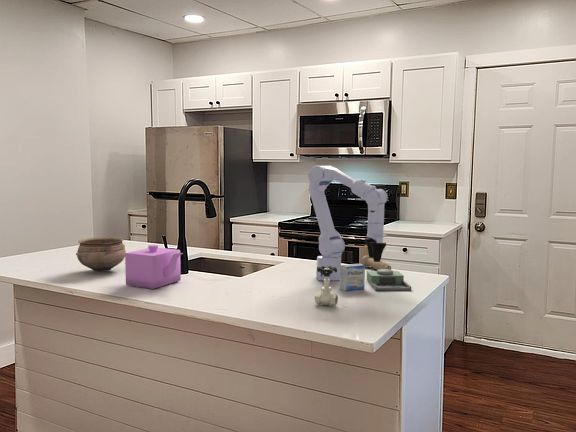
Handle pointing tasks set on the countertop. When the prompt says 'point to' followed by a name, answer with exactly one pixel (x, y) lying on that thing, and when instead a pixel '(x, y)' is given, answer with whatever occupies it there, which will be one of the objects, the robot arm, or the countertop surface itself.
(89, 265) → the cooking pot
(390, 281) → the green block with dome
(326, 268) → the valve
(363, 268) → the medicine box
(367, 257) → the handle
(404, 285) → the gray rectangular tray
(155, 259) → the teapot
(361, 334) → the countertop surface
